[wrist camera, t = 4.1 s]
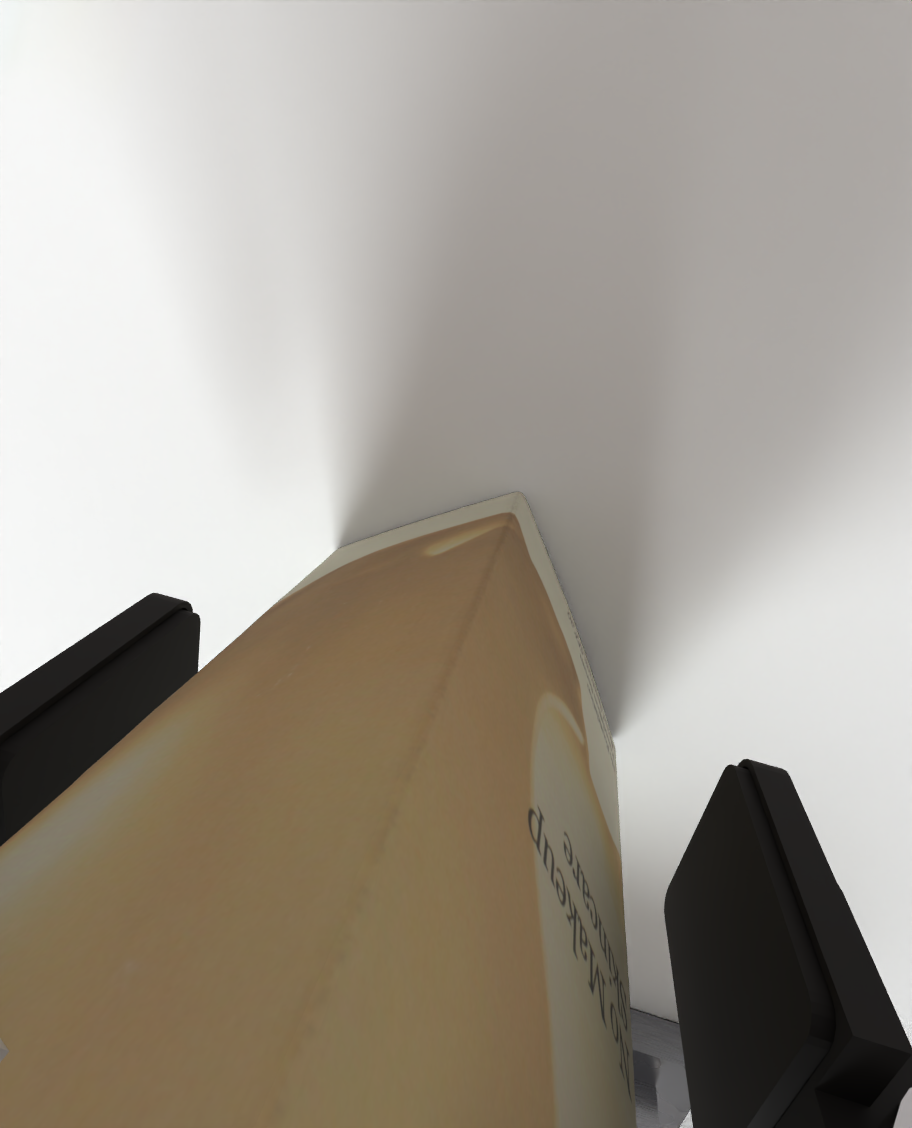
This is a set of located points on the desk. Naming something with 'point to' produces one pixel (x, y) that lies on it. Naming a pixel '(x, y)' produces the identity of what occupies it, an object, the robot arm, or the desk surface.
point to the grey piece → (658, 1072)
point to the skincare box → (340, 869)
